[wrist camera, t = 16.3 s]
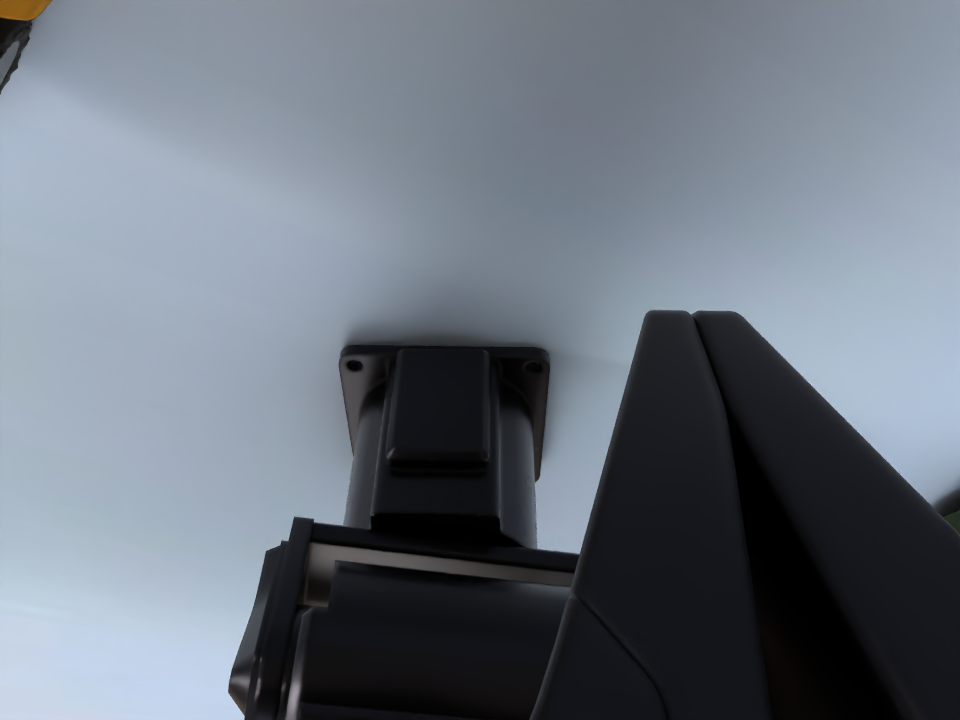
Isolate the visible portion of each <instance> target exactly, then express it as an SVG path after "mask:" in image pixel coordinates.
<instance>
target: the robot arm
mask: <svg viewBox="0 0 960 720" xmlns="http://www.w3.org/2000/svg"><path fill="white" fill-rule="evenodd" d="M351 360H358V361H360V362H353V361H351ZM532 362H536V363H538V364H534V365H532V364H529V363H532ZM339 371H340V377H341V383H342V390H343V396H344V402H345V408H346V414H347V421H348V427H349V433H350V439H351V445H352V451H353V464H352V471H351V478H350V485H349V492H348V498H347V505H346V512H345V519H344V526H341V525H332V524H324V523H316V522H314V519H310V518H301V517H294V520H293V524H292V528H291V533H290V537H289V541H281V545H280V546H278V547H275V548H273V549H270V550H268V551H266V554H265V559H264V563H263V568H262V572H261V577H260V582H259V586H258V591H257V595H256V599H255V603H254V606H253V610H252V613H251V616H250V619H249V621H248V624H247V627H246V630H245V633H244V636H243V639H242V642H241V644H240V647H239V650H238V653H237V656H236V659H235V662H234V664H233V668H232V671H231V676H230V681H229V688H228V693H229V694H230V696H231V697H232V699H233V700H234V701H235V703H236V704H237V706H238V707H239V709H240V710H241V711H242V713H243V714H244V716H245V720H960V534H959V533H958V532H957V531H956V530H955V529H954V528H953V527H952V526H951V525H950V524H949V523H948V522H947V521H946V520H945V519H944V518H943V517H942V516H941V515H940V514H939V513H938V512H937V511H936V510H935V509H934V508H933V507H932V506H931V505H930V504H929V503H928V502H927V501H926V500H925V499H924V498H923V497H922V496H921V495H920V494H919V493H918V492H917V491H916V490H915V489H914V488H913V487H912V486H911V485H910V484H909V483H908V482H907V481H906V480H905V479H904V478H903V477H902V476H901V475H900V474H899V473H898V472H897V471H896V470H895V469H894V468H893V467H892V466H891V465H890V464H889V463H888V462H887V461H886V460H885V459H884V458H883V457H882V456H881V455H880V454H879V453H878V452H877V451H876V450H875V449H874V448H873V447H872V446H871V445H870V444H869V443H868V442H867V441H866V440H865V439H864V438H863V437H862V436H861V435H860V434H859V433H858V432H857V431H856V430H855V429H854V428H853V427H852V426H851V425H850V424H849V423H848V422H847V421H846V420H845V419H844V418H843V417H842V416H841V415H840V414H839V413H838V412H837V411H836V410H835V409H834V408H833V407H832V406H831V405H830V404H829V403H828V402H827V401H826V400H825V399H824V398H823V397H822V396H821V395H820V394H819V393H818V392H817V391H816V390H815V389H814V388H813V387H812V386H811V385H810V384H809V383H808V382H807V381H806V380H805V379H804V378H803V377H802V376H801V375H800V374H799V373H798V372H797V371H796V370H795V369H794V368H793V367H792V366H791V365H790V364H789V363H788V362H787V361H786V360H785V359H784V358H783V357H782V356H781V355H780V354H779V353H778V352H777V351H776V350H775V349H774V348H773V347H772V346H771V345H770V344H769V343H768V342H767V341H766V340H765V339H764V338H763V337H762V336H761V335H760V334H759V333H758V332H757V331H756V330H755V329H754V328H753V327H752V326H751V325H750V324H749V323H748V322H747V321H746V319H745V318H744V317H742V316H741V315H740V314H738V313H736V312H732V311H697V312H695V313H693V314H692V315H691V314H690V313H688V312H687V311H683V310H650V311H648V312H647V313H646V315H645V317H644V320H643V324H642V328H641V331H640V335H639V339H638V342H637V346H636V350H635V353H634V357H633V361H632V364H631V368H630V372H629V375H628V379H627V383H626V386H625V390H624V394H623V397H622V401H621V405H620V408H619V412H618V416H617V419H616V423H615V427H614V430H613V434H612V438H611V442H610V445H609V449H608V453H607V456H606V460H605V464H604V467H603V471H602V475H601V478H600V482H599V486H598V489H597V493H596V497H595V500H594V504H593V508H592V511H591V515H590V519H589V522H588V526H587V530H586V533H585V537H584V541H583V544H582V548H581V552H580V554H575V553H567V552H558V551H550V550H542V549H537V527H536V502H535V482H536V481H537V480H538V479H539V477H540V469H541V459H542V448H543V437H544V426H545V416H546V405H547V394H548V384H549V373H550V362H549V355H548V353H547V352H546V351H545V350H543V349H541V348H535V347H469V346H393V345H351V346H347V347H345V348H344V349H343V350H342V351H341V354H340V359H339Z"/></svg>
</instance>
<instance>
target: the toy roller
mask: <svg viewBox="0 0 960 720" xmlns="http://www.w3.org/2000/svg"><path fill="white" fill-rule="evenodd" d="M51 2H52V0H0V94H1V90H2V89H3V87H4V86H5V84H6V83H7V82H8V81H9V80H10V76H11V74H12V73H13V72H14V71H15V70H16V69H17V68H18V60H19V58H20V56H21V51H22V49H23V48H24V47H25V46H26V45H27V43H28V41H29V39H30V38H29V36H28V34H29V31H30V29H31V27H30V26H31V25H32V23H31V21H30V20H31V19H34V18H36V17H37V16H38V15H39V14H40V13H42V12H43V11H44V10H45V8H46V7H47V6H48V5H49V4H50V3H51Z"/></svg>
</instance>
